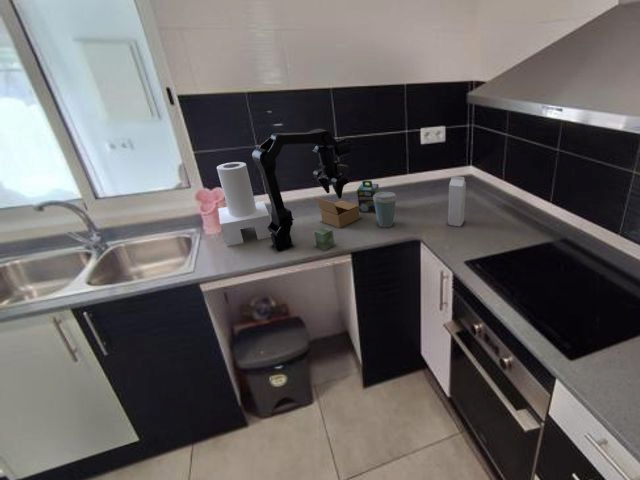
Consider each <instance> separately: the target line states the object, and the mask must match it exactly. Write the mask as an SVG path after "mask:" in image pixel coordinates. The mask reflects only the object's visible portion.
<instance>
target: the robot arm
mask: <svg viewBox="0 0 640 480" xmlns="http://www.w3.org/2000/svg"><path fill="white" fill-rule="evenodd" d="M305 144H313V145H315V147H313V149H312V152H313V153H316V154H318V158H319V161H320V163H318V166H319V167H321V168H319V169H315V170H314V171H313V172H312V175H313V178H315V180H316V181H317V182H318V184H319V185H320V186H321V187H322V188H323V190H324V191H325V193H326V194H330V184H331V187H332V189H333V190H334V192H335V195H336V197H337V198H338V199H339V200H341V199H342V196H343V191H344V187H345V186H346V185H347V184H350V180H349V177H348V176H346V175H343V174H348V173H349V165H347V164H343V163H341V161H339V160H335V158H336V159H339V158H341V157H345V156H348V155H350V154H351V149H352V148H351V147H350V144H349V143H348V142H347V138H345V137H344V138H343V137H342V138H340V139H338V140H336V139H335V138H334V137H333V134H332V133H331V131H330V130H326V129H323V128H315V129H311V130H309V131H306V132H286V133H285V132H284V133H281V132H280V133H278V132H273V133H272V134H271V135H270V136H269V138H267V139H266V140H265V141H264V142H262V143H261V144H260V145H259V147H257V148H255V149H254V150H253V152H252V154H251V156H252V160H253V162H254V164H255V165H256V167H257V169H258V170H259V172H260V173H261V175H262V178H263V182H264V185H265V189H266V193H267V195H268V198H269V202H270V205H271V212H270V219H271V220H270V221H271V222H270V224H269V226H268V227H267V228H268V230H269V231H270V232H272V234H271V237H270V238H271V242H272V244H271V247H272V248H273V249H274V250H276V251H277V252H281V251H285V250H287V249H290V248H292V247H294V245H293V241H292V235H291V230H292V227H293V226H294V220H295V219H294V217H293V212H292V210H290V209H288V208H286V207H285V204H284V200H283V197H282V194H281V189H280V186H279V183H278V179H277V175H276V169H277V161H276V158H278V157H279V155H280V153H281V151H282V148H283V147H284V146H286V145H305ZM330 182H331V183H330Z"/></svg>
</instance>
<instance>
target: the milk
mask: <svg viewBox="0 0 640 480" xmlns="http://www.w3.org/2000/svg"><path fill="white" fill-rule="evenodd" d="M465 179H466V178H465V177H464V176H458V175H451V176H450V181H449V185H448V214H447V216H448V217H447V225H448V226H453V227H454V226H455V227H462V225H463V224H464V222H465V210H466V209H465V207H466V206H465V205H466V189H467V188H466V187H467V182H466V180H465Z"/></svg>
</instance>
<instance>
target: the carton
mask: <svg viewBox="0 0 640 480" xmlns="http://www.w3.org/2000/svg"><path fill="white" fill-rule="evenodd" d="M333 203H334V204H335V207H336V210H337V212H338V215H337V214H334V213H331V212H328V211H325V210H322V209H320V215H321V221H322V223H325V224H328V225H330V226H333V227H336V228H338V229H341V228H343V227H345V226H347V225H349V224H351V223H353V222H356V221H358V220H360V219H361V216H360V215H361V214H360V212H359V205H358V204H354V203H351V202H348V201H345V200H341V199H340V200H338V201H336V202H333Z"/></svg>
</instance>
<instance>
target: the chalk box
mask: <svg viewBox="0 0 640 480" xmlns="http://www.w3.org/2000/svg"><path fill="white" fill-rule="evenodd" d="M379 192H380V185H379V183H373V182H372V180H362V182H361V184H360V185H359V186H358V188H357V190H356V196H357V203H358V204H357V205H358V207H359V213H360V212H362V213H363V212H364V213H365V212H368V213H376V210H375V205H374V200H373V196H374V195H375V194H376V193H379Z"/></svg>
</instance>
